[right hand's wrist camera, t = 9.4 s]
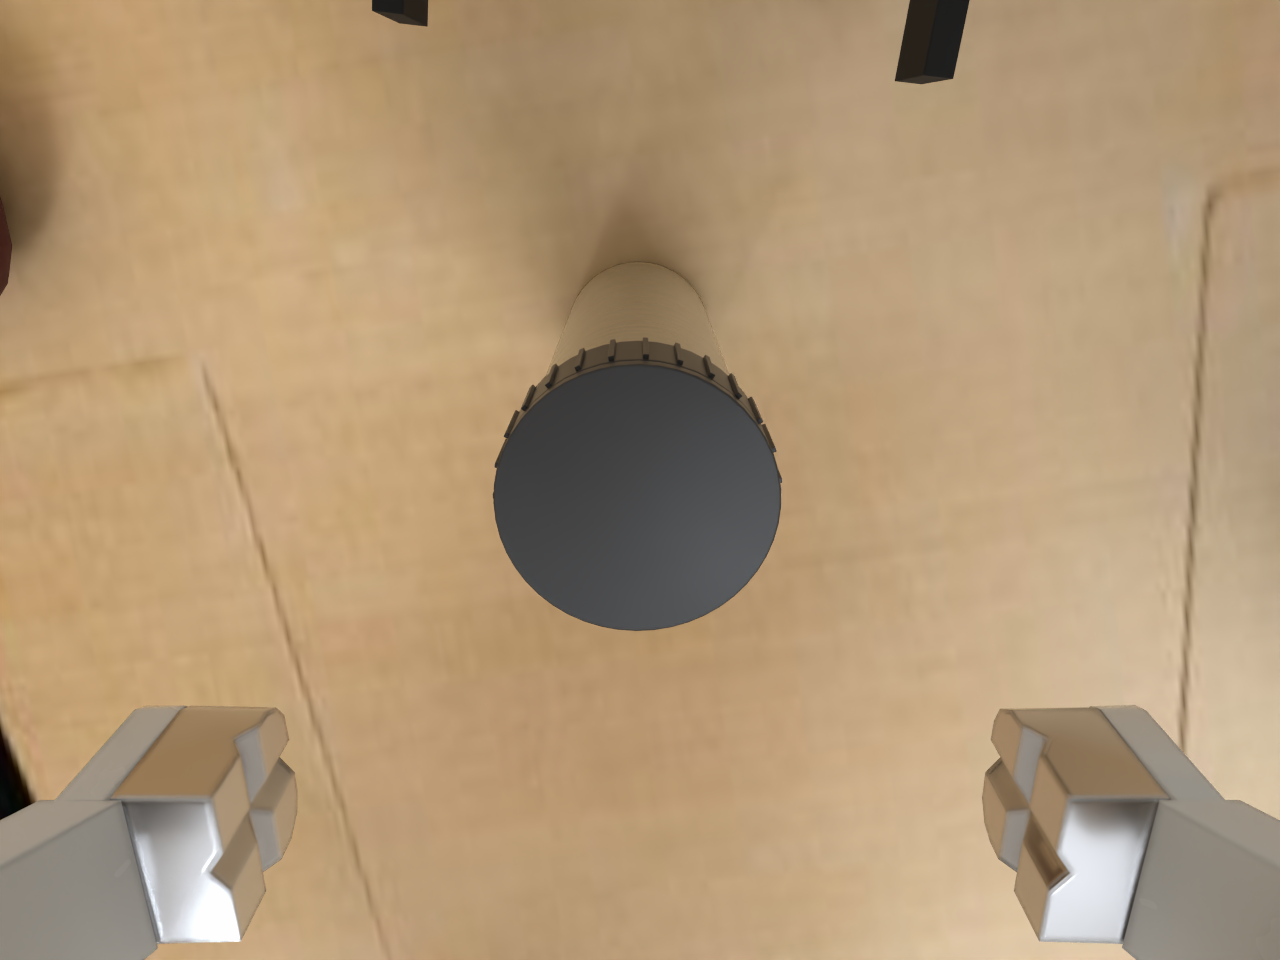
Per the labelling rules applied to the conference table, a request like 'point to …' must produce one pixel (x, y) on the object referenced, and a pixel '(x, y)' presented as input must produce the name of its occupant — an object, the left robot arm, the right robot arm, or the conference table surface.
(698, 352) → the jar
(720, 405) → the lid
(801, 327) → the conference table surface
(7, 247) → the potato
